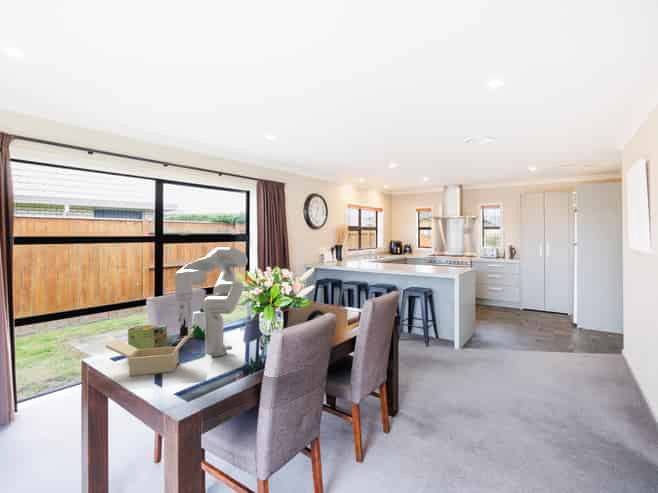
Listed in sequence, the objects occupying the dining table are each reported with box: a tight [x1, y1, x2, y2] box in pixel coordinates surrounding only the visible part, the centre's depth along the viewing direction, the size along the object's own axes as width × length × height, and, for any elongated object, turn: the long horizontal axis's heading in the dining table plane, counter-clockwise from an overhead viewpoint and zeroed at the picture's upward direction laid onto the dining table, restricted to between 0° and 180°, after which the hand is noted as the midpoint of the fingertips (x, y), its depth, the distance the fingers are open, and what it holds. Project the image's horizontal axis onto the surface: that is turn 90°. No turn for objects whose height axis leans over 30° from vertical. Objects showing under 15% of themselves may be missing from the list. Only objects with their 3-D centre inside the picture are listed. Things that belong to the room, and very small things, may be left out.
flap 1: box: [105, 337, 137, 359], centre depth 158 cm, size 1×12×11 cm
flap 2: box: [173, 328, 194, 354], centre depth 165 cm, size 1×12×11 cm
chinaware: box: [167, 329, 180, 347], centre depth 200 cm, size 15×15×8 cm
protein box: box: [127, 324, 168, 350], centre depth 181 cm, size 10×15×16 cm
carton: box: [128, 345, 179, 377], centre depth 162 cm, size 18×14×8 cm
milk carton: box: [191, 307, 205, 338], centre depth 222 cm, size 9×9×20 cm
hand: (184, 335), depth 165 cm, fingers closed
